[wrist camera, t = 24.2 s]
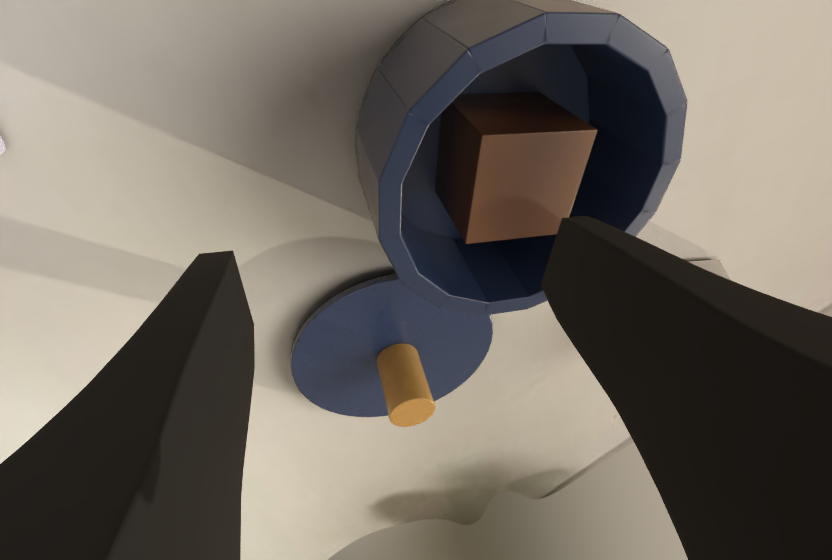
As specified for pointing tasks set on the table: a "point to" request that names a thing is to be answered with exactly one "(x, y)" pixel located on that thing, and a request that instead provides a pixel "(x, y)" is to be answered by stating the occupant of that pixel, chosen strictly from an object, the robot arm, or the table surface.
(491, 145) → the block
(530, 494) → the table surface
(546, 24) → the tin
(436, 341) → the lid
